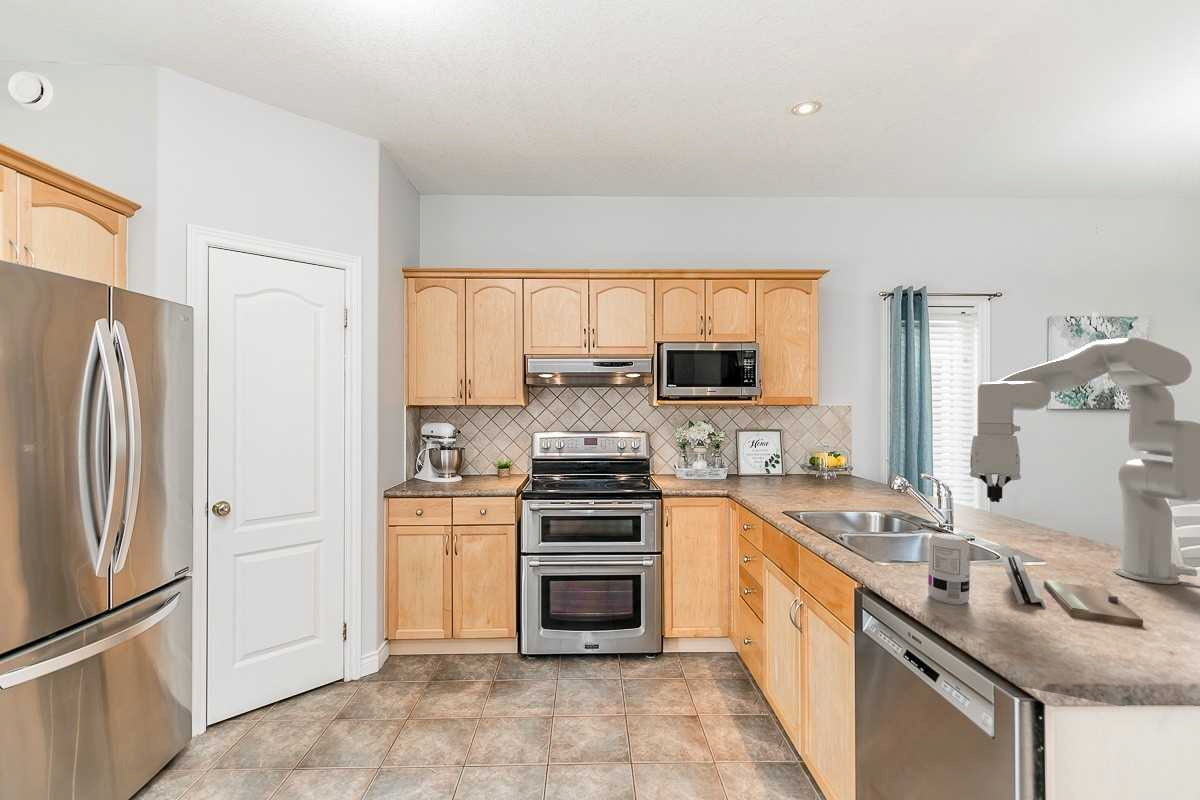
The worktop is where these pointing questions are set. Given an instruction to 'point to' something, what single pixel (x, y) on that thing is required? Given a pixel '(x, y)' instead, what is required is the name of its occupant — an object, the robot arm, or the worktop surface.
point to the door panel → (1092, 603)
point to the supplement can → (949, 568)
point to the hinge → (1022, 581)
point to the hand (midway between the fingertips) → (994, 501)
